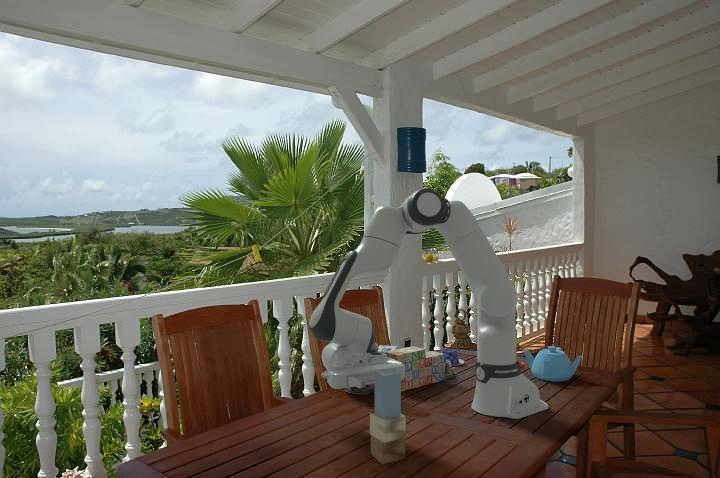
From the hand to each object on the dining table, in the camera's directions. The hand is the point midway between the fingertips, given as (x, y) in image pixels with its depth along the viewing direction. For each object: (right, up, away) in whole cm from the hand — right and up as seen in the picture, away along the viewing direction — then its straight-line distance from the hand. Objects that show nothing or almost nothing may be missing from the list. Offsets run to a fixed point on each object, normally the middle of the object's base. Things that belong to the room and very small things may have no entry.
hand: (380, 382), depth 133 cm
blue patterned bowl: (+30, -14, +83) cm, 90 cm away
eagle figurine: (+25, -15, +65) cm, 71 cm away
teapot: (+63, -15, +62) cm, 90 cm away
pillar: (+2, -7, -3) cm, 8 cm away
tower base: (+2, -17, -3) cm, 17 cm away
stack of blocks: (+14, -15, +55) cm, 58 cm away
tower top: (+2, -12, -3) cm, 12 cm away
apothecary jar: (-5, -15, +48) cm, 51 cm away
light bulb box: (+5, -15, +62) cm, 63 cm away
